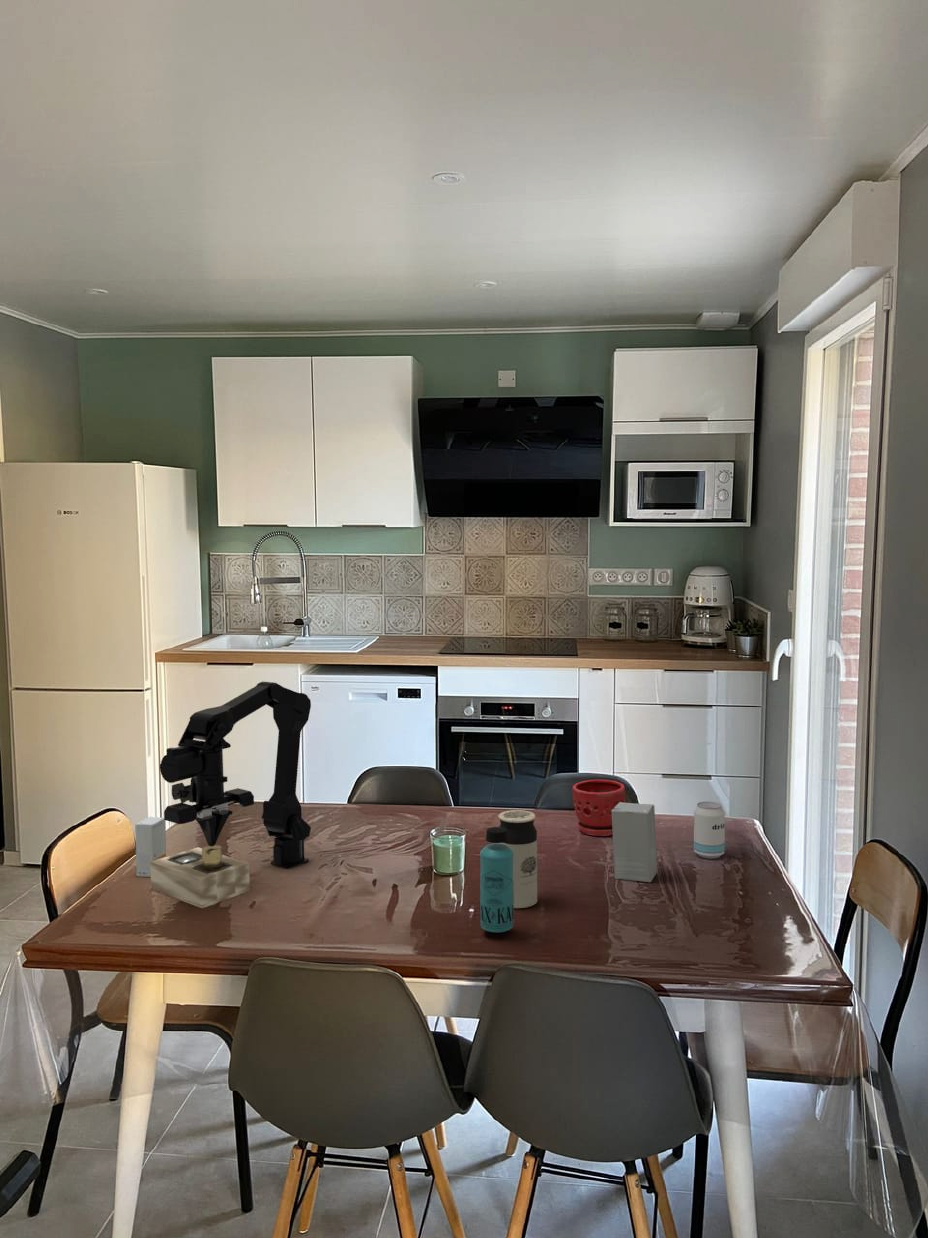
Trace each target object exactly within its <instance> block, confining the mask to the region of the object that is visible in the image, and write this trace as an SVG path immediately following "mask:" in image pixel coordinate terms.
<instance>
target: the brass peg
mask: <svg viewBox="0 0 928 1238" xmlns="http://www.w3.org/2000/svg"><path fill="white" fill-rule="evenodd" d="M222 849H223V848H222V846H221V845H218V844H215V846H212V847H211V846H209V845H205V846H203V847H202V869H203V870H206V871H209V872H211V871H214V870H217V869H220V868H222V855H223V851H222Z"/></svg>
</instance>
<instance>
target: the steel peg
mask: <svg viewBox="0 0 928 1238" xmlns="http://www.w3.org/2000/svg"><path fill="white" fill-rule="evenodd" d="M195 859H197V858H196V857H195V856H184V857H180V858H178V859H177V861H179V862H182V863H186V862H189V861H192V860H195Z"/></svg>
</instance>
